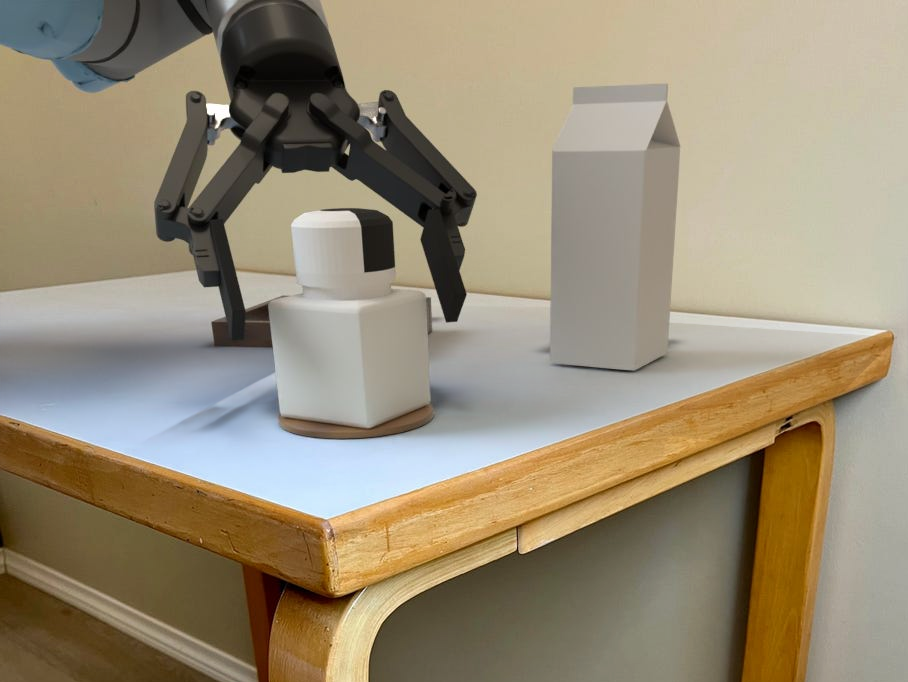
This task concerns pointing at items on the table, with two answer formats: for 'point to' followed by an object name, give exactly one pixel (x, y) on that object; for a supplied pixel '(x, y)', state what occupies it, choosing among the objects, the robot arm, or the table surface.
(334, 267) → the medicine bottle
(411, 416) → the cork coaster
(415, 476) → the table surface
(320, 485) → the table surface
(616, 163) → the milk carton
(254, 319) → the walnut frame box
